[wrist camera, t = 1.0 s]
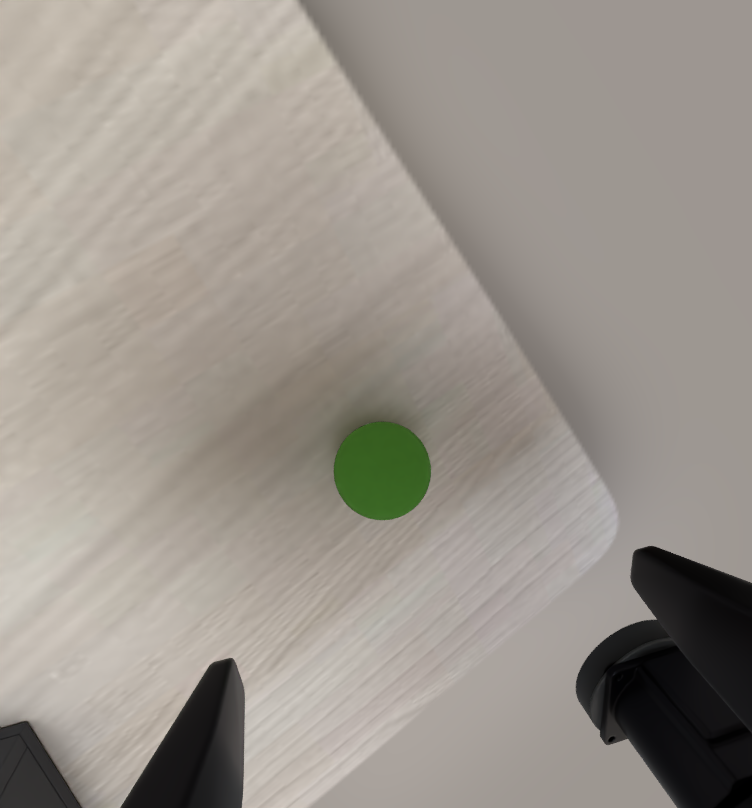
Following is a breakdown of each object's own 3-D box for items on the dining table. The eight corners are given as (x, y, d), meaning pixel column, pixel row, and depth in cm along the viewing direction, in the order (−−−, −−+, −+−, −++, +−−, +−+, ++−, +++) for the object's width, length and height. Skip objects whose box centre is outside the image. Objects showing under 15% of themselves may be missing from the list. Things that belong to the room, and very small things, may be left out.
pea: (418, 478, 17) (448, 527, 14) (336, 496, 17) (348, 551, 13) (410, 401, 16) (441, 435, 13) (322, 418, 16) (331, 458, 12)
